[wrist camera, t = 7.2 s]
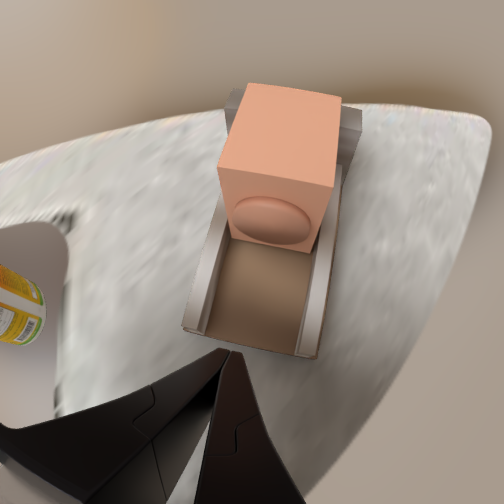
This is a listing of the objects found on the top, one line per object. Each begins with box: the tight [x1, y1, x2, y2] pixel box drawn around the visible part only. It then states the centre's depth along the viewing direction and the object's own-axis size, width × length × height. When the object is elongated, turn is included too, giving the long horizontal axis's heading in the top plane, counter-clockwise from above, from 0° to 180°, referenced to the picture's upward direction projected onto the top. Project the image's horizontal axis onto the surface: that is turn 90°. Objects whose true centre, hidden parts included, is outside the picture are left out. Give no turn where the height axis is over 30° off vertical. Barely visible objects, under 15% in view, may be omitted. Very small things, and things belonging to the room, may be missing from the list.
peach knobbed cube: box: [217, 83, 341, 253], centre depth 18 cm, size 7×5×8 cm
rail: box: [181, 89, 362, 360], centre depth 19 cm, size 14×8×7 cm, turn 167°
